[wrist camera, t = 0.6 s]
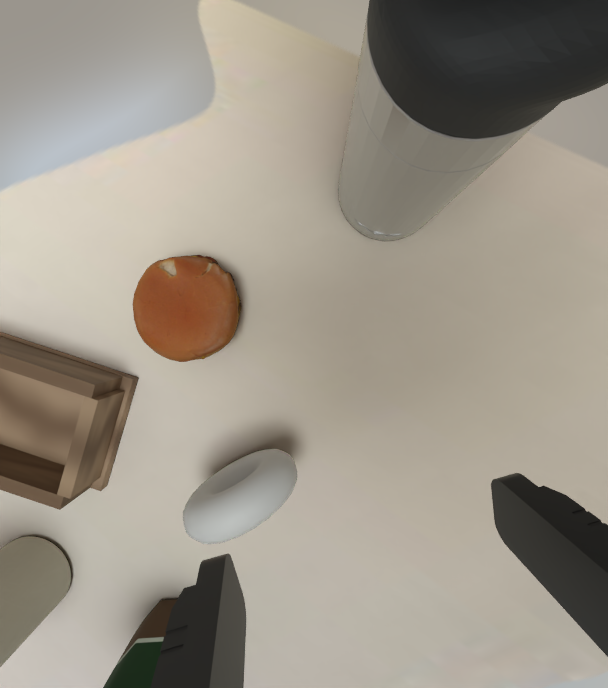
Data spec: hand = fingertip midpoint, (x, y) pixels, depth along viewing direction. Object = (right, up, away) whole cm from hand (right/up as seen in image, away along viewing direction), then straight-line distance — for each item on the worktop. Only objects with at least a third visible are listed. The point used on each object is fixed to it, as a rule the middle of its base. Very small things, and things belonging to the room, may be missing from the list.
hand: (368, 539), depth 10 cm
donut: (-7, -6, +23) cm, 25 cm away
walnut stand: (-28, 0, +24) cm, 37 cm away
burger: (-12, +9, +23) cm, 27 cm away
